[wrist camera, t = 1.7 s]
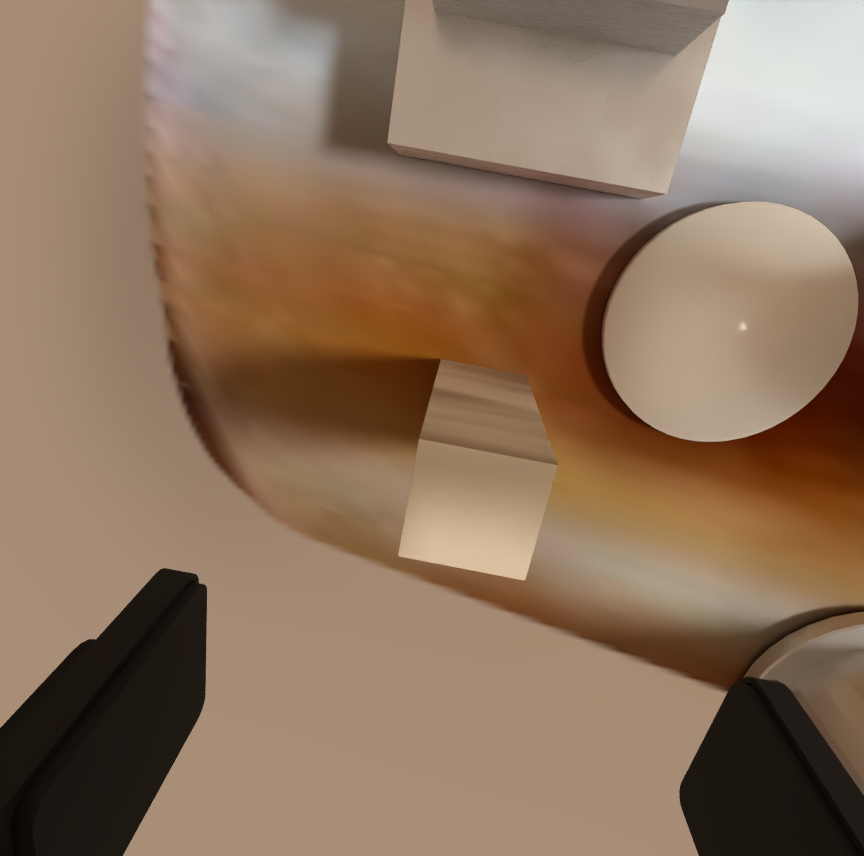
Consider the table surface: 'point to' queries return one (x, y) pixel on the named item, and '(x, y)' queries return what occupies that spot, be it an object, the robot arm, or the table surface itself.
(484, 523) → the pale wood brick
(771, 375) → the coaster
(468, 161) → the base
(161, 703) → the robot arm
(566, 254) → the table surface
